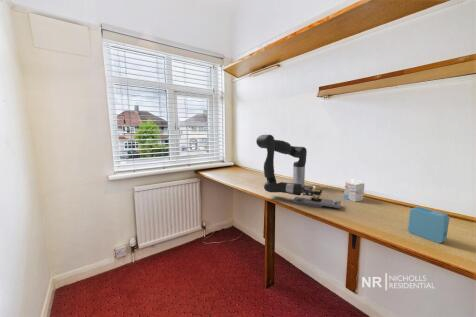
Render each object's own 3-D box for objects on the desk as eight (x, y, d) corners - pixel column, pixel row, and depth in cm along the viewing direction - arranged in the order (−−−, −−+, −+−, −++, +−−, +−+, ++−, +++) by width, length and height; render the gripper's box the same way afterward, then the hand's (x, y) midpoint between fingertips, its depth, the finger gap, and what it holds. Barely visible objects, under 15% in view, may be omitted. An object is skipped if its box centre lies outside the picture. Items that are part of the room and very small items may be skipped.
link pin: (312, 202, 135) (313, 184, 133) (320, 203, 132) (321, 185, 131) (310, 205, 130) (311, 186, 129) (319, 206, 128) (320, 187, 126)
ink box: (343, 198, 142) (344, 179, 141) (351, 196, 146) (353, 177, 144) (355, 202, 135) (356, 182, 133) (363, 200, 138) (365, 180, 136)
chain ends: (292, 202, 134) (292, 196, 134) (295, 198, 142) (295, 193, 141) (340, 210, 121) (340, 203, 120) (340, 205, 128) (341, 199, 128)
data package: (446, 241, 87) (450, 214, 86) (442, 244, 85) (446, 217, 83) (411, 229, 98) (414, 205, 96) (407, 232, 96) (410, 207, 94)
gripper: (291, 186, 130) (320, 189, 122) (296, 181, 143) (323, 184, 134) (290, 197, 131) (319, 201, 123) (296, 191, 144) (322, 195, 136)
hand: (321, 192), depth 129 cm, fingers open, 4 cm apart
